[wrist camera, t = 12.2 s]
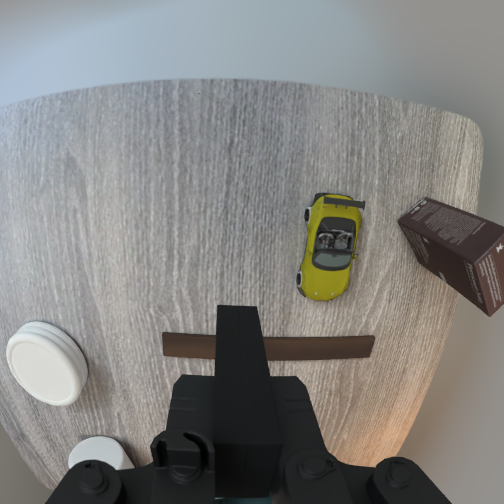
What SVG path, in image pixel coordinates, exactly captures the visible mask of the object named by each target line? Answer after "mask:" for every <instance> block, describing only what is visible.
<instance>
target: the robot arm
mask: <svg viewBox="0 0 504 504" xmlns="http://www.w3.org/2000/svg"><path fill="white" fill-rule="evenodd" d="M150 449H151V453H152V457H153V462H152V463H150V464H148V465H145V466H142V467H138V468H131V469H121V470H116V469H115V468H114V467H113V466H111V465H110V464H108V463H106V462H104V461H100V460H96V459H94V460H84V461H81V462H79V463H76V464H75V465H74V466H73V467H72V468H71V469H69V471H68V472H67V473H66V475H65V476H64V478H63V479H62V480H61V482H60V483H59V485H58V486H57V488H56V489H55V490H54V492H53V493H52V495H51V496H50V498H49V499H48V500H47V502H46V503H45V504H215V498H268V497H269V494H270V491H271V497H272V504H452V503H451V502H450V501H449V500H448V499H447V498H446V497H445V495H444V494H442V492H441V491H440V490H439V489H438V488H437V487H436V486H435V484H434V483H433V482H432V481H431V480H430V479H429V477H428V476H427V475H426V474H425V473H424V472H423V471H422V470H421V468H420V467H419V466H418V465H417V464H415V463H414V462H413V461H411V460H409V459H406V458H403V457H390V458H386V459H384V460H383V461H381V462H380V463H378V464H377V466H376V468H375V467H363V466H353V465H348V464H345V463H342V462H340V461H338V460H337V459H336V457H334V456H333V455H332V454H330V453H329V452H328V451H327V449H326V447H325V444H324V441H323V438H322V435H321V432H320V428H319V425H318V422H317V419H316V416H315V413H314V411H313V407H312V403H311V401H310V397H309V394H308V391H307V388H306V386H305V385H304V384H303V383H302V382H301V381H300V380H299V378H298V377H297V376H270V372H269V367H268V362H267V357H266V352H265V346H264V341H263V336H262V331H261V325H260V320H259V315H258V310H257V307H256V306H232V305H217V325H216V350H215V376H201V375H185V374H182V375H181V377H180V378H179V379H178V380H177V381H176V383H175V384H174V386H173V391H172V399H171V403H170V410H169V414H168V420H167V426H166V430H165V431H163V432H161V433H160V434H159V435H157V436H156V437H155V438H154V439H153V442H152V444H151V446H150Z"/></svg>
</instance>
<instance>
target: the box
mask: <svg viewBox="0 0 504 504" xmlns="http://www.w3.org/2000/svg"><path fill="white" fill-rule="evenodd" d="M398 223H399V225H400V227H401V228H402V230H403V232H404V234H405V235H406V237H407V239H408V241H409V243H410V245H411V246H412V248H413V250H414V252H415V255H416V257H417V259H418V261H419V263H420V264H421V265H422V266H424V267H425V268H427V269H428V270H429V271H431V272H432V273H433V274H435V275H436V276H438V277H439V278H440V279H442V280H443V281H444V282H446V283H447V284H448V285H450V286H451V287H452V288H454V289H455V290H456V291H458V292H459V293H460V294H462V295H463V296H464V297H466V298H467V299H468V300H469V301H471V302H472V303H473V304H475V305H476V306H477V307H478V308H479V309H481V310H482V311H483V312H484V313H485V314H486V315H488V316H489V317H491V316H492V315H493V314H494V313H495V312H496V311H497V310H498V309H499V308H500V307H501V306H502V305H503V304H504V227H503V226H501V225H498V224H496V223H494V222H491V221H489V220H486V219H484V218H481V217H479V216H476V215H474V214H471V213H468V212H466V211H463V210H461V209H458V208H455V207H452V206H450V205H447V204H444V203H442V202H439V201H436V200H433V199H430V198H427V197H425V198H424V199H422V200H420V201H419V202H418V203H417V204H416V205H415V206H413V207H412V208H411V209H410V210H409V211H408V212H406V213H405V214H404V215H403V216H402V217H401V218H400V219H399V220H398Z"/></svg>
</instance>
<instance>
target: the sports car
mask: <svg viewBox="0 0 504 504" xmlns="http://www.w3.org/2000/svg"><path fill="white" fill-rule="evenodd" d="M365 202H366V201H363V202H360V201H354V200H353V198H351V197H349V196H344V195H340V194H328V193H318V194H316V195H315V198H314V201H313V204H312V205H313V206H312V207H307V208H306V210H305V215H304V217H305V222H306V224H308V225H307V229H308V238H307V245H306V251H305V257H304V261H303V263H302V264H301V266H300V269H301V271H299V272H298V274H297V285H298V290H299V292H300V293H301V294H302V295H303V296H304V297H308V298H310V299H313V300H318V301H326V300H332V299H334V298H336V297H338V296H339V295H341V294H342V293H344V292H345V291H346V290H347V288H348V286H349V273H350V269H351V264H352V260H353V258H354V259H356V258H357V257H358V255H359V254H356V255H354V250H355V245H356V242H357V241H356V240H357V235H358V231H359V229H360V227H361V224H362V216H361V213H360V212H359V210H358V208H363V210H364V207H365ZM357 207H358V208H357Z"/></svg>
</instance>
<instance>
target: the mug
mask: <svg viewBox="0 0 504 504" xmlns="http://www.w3.org/2000/svg"><path fill="white" fill-rule="evenodd" d="M94 459H96V460H100V461H104V462H106V463H108V464H110V465H111V466H113V467H114V468H115V469H116V470H121V469H131V468H135V467H134V465H133V464H132V462H131V461H130V459H129V458H128V456H127V454H126V453H125V451H124V450H123V448H122V446H121V445H120V444H119V443H118V442H117V441H115V440H114V439H112V438H109V437H104V436H96V437H91V438H88V439H85V440H83V441H82V442H80V443H79V444H77V445H76V446H75V447H74V449H73V450H72V451H71V453H70V456H69V461H68V464H69V468H70V469H71V468H72V467H73V466H74V465H75V464H76V463H79V462H81V461H84V460H94Z"/></svg>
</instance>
